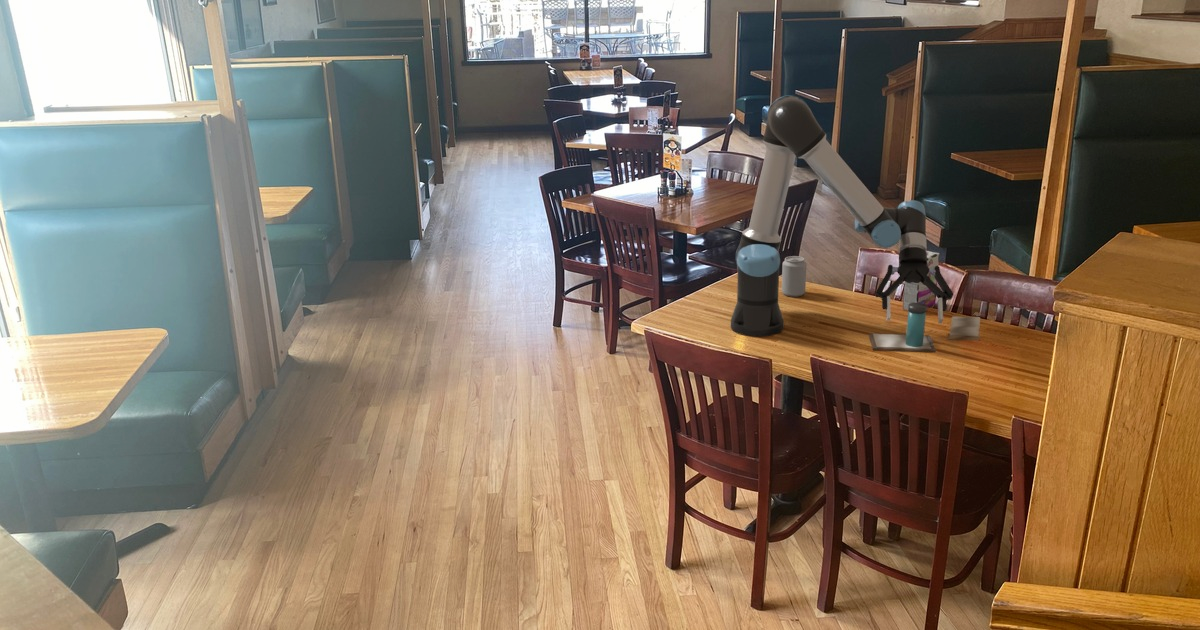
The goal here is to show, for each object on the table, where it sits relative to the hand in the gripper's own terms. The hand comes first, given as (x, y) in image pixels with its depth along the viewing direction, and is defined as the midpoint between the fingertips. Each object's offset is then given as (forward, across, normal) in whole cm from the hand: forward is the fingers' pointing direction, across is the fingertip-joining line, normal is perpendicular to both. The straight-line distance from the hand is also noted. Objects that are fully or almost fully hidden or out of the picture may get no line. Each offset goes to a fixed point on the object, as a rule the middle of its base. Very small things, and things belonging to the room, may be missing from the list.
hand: (914, 320), depth 238 cm
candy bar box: (-15, -5, -24) cm, 29 cm away
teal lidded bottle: (+7, 0, 0) cm, 7 cm away
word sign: (+3, -14, -5) cm, 15 cm away
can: (-22, +32, -31) cm, 49 cm away
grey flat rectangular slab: (+6, +3, -2) cm, 7 cm away
